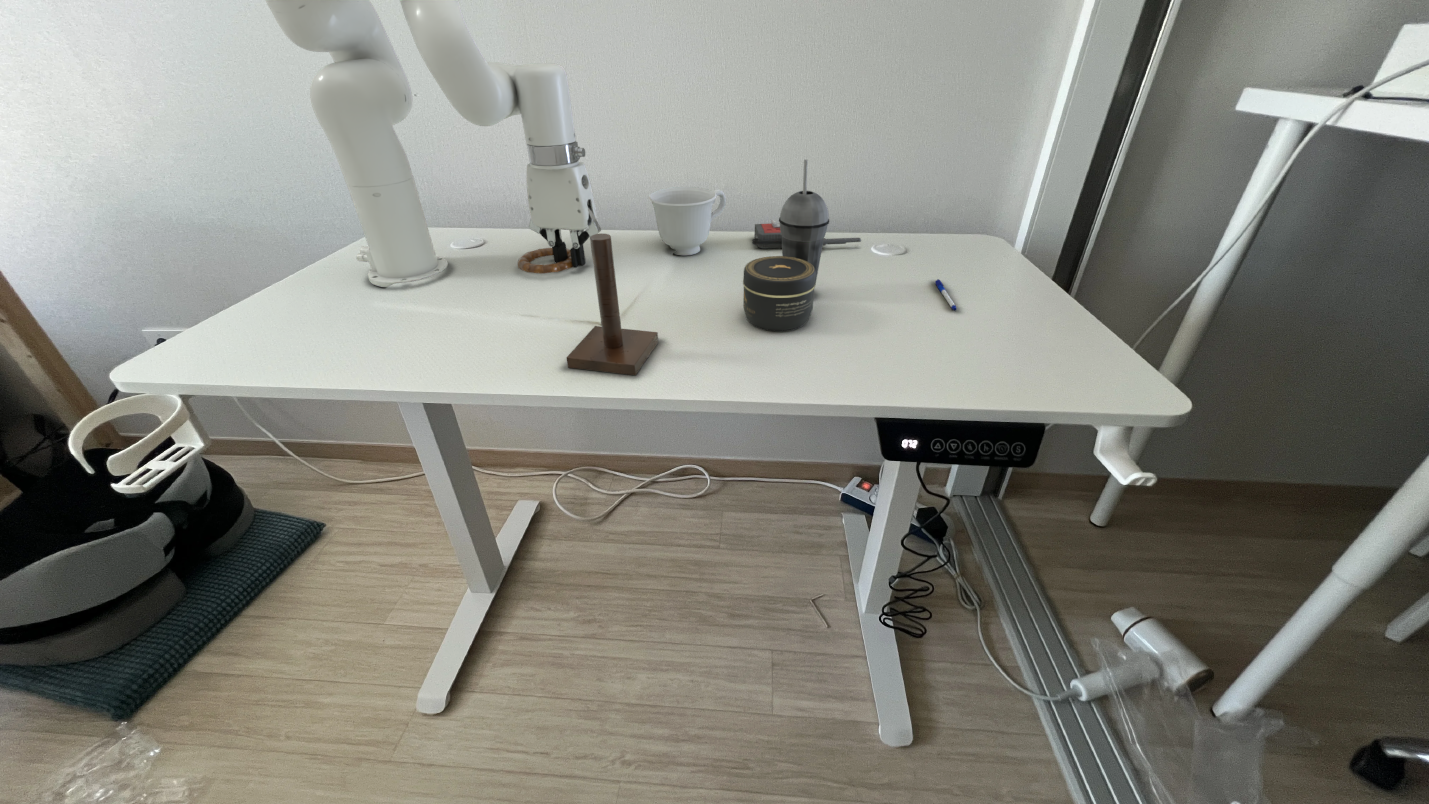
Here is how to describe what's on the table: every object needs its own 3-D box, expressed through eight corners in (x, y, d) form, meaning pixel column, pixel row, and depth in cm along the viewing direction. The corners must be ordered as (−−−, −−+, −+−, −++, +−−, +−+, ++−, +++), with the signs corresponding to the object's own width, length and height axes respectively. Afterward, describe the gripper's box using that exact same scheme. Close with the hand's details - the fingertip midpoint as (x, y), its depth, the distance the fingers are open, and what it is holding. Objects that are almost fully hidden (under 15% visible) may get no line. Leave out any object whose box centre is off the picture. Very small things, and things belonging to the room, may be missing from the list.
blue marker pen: (932, 283, 94) (934, 277, 94) (938, 283, 94) (939, 277, 94) (952, 311, 86) (954, 305, 85) (958, 311, 86) (960, 305, 85)
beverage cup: (827, 289, 93) (841, 155, 82) (814, 307, 87) (827, 165, 76) (784, 282, 95) (791, 151, 84) (768, 299, 90) (774, 161, 79)
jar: (732, 309, 87) (733, 259, 83) (794, 299, 90) (797, 251, 85) (757, 338, 79) (759, 285, 75) (824, 327, 82) (829, 275, 77)
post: (567, 367, 73) (546, 247, 65) (596, 335, 81) (580, 222, 72) (635, 375, 72) (622, 252, 63) (658, 341, 79) (650, 227, 70)
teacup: (742, 250, 108) (743, 194, 103) (672, 266, 102) (668, 208, 96) (708, 233, 117) (707, 181, 111) (641, 247, 110) (636, 192, 105)
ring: (507, 275, 99) (505, 264, 98) (537, 255, 108) (535, 244, 107) (564, 280, 97) (562, 269, 96) (589, 258, 106) (588, 248, 105)
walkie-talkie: (753, 253, 107) (861, 249, 108) (754, 229, 104) (864, 225, 105) (747, 238, 114) (849, 234, 115) (748, 215, 112) (851, 211, 113)
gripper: (610, 151, 93) (622, 263, 103) (519, 148, 96) (539, 257, 106) (591, 161, 87) (605, 279, 97) (494, 157, 90) (518, 272, 100)
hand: (570, 266), depth 101 cm, fingers closed on ring, 2 cm apart
